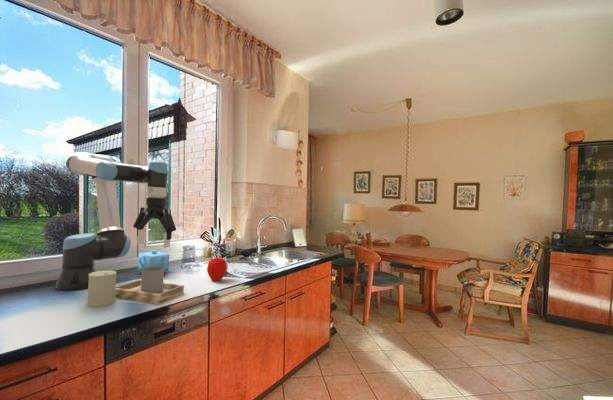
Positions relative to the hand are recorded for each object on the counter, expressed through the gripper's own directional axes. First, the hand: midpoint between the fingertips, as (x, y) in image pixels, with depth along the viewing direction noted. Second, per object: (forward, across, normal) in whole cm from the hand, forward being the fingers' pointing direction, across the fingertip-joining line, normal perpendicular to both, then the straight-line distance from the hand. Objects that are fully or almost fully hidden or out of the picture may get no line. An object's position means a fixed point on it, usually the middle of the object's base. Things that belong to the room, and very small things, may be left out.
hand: (153, 245), depth 125 cm
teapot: (+22, -21, +27) cm, 41 cm away
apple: (+21, +14, +30) cm, 39 cm away
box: (+21, 0, -1) cm, 21 cm away
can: (+21, -9, -15) cm, 28 cm away
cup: (+20, +2, -1) cm, 20 cm away
